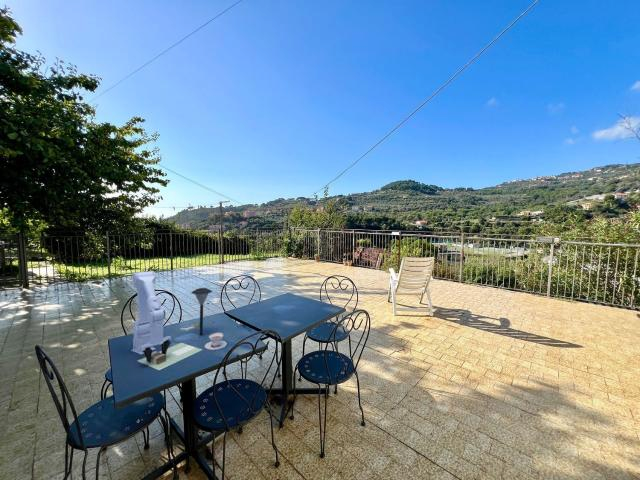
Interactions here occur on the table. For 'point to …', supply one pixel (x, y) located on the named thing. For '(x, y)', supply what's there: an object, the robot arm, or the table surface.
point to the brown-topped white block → (157, 357)
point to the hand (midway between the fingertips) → (156, 358)
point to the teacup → (215, 342)
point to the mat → (173, 355)
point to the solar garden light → (201, 303)
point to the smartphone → (190, 327)
